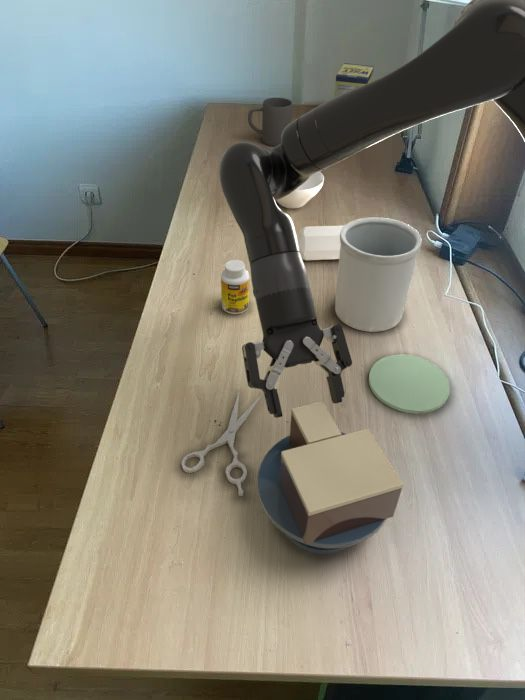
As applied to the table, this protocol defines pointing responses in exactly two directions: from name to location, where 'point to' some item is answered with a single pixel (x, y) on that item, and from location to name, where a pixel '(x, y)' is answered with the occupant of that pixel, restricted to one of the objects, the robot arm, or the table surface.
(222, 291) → the supplement bottle
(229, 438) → the scissors
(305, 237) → the crystal
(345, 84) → the protein box
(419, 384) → the plate
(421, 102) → the robot arm
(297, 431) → the cake slice
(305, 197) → the bowl
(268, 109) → the mug
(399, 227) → the utensil holder
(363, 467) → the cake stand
